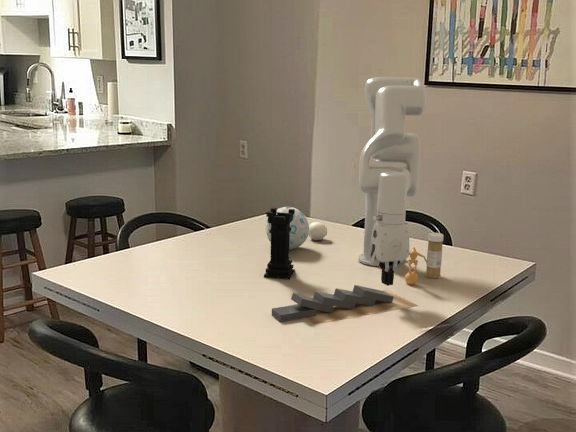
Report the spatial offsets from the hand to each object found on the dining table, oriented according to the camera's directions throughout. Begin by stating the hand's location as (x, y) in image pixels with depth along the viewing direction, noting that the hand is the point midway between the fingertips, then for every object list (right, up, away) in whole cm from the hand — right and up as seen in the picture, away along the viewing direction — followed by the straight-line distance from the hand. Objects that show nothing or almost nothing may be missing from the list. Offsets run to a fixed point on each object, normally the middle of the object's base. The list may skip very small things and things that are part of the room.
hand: (387, 283), depth 177 cm
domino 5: (0, -4, +1) cm, 4 cm away
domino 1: (-21, -6, -9) cm, 24 cm away
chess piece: (-30, 0, +23) cm, 37 cm away
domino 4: (-5, -4, -2) cm, 7 cm away
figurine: (+9, -2, +14) cm, 17 cm away
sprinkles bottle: (+18, 0, +24) cm, 30 cm away
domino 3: (-11, -5, -4) cm, 12 cm away
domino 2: (-17, -5, -7) cm, 19 cm away
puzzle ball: (-27, +7, +51) cm, 58 cm away
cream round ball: (-16, +9, +64) cm, 67 cm away
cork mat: (-10, -6, -3) cm, 12 cm away
